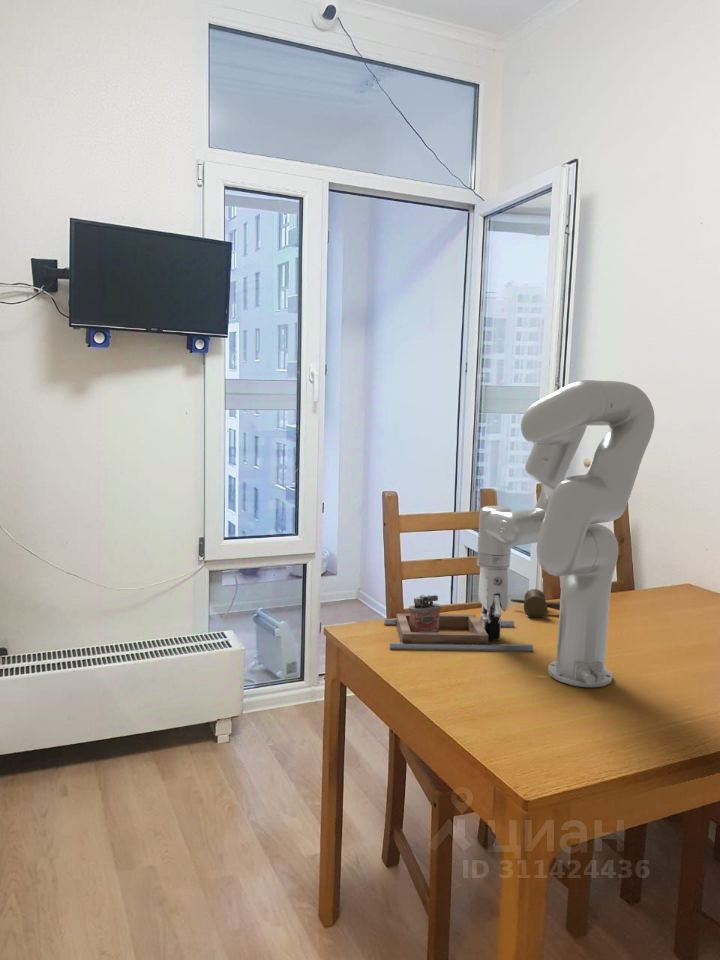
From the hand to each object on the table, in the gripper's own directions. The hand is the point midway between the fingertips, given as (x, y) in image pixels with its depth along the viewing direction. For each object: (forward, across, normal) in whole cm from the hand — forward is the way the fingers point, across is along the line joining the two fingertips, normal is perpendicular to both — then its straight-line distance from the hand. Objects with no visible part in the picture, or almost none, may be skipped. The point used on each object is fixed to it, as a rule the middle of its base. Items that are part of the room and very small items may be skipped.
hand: (489, 635), depth 169 cm
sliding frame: (+1, 0, +10) cm, 10 cm away
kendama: (+1, +20, -20) cm, 28 cm away
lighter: (+1, 0, +16) cm, 16 cm away
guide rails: (+1, 0, +8) cm, 8 cm away
